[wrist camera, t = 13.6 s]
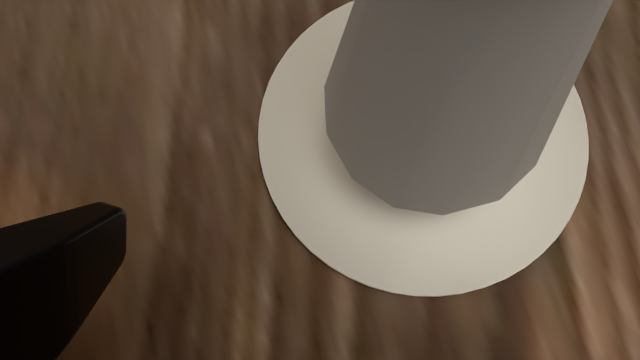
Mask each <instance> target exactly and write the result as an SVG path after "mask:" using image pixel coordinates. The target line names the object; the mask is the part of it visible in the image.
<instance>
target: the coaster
mask: <svg viewBox="0 0 640 360" xmlns="http://www.w3.org/2000/svg"><path fill="white" fill-rule="evenodd" d="M353 4H354V1H352V2H349V3H347V4H345V5H343V6H341V7H339V8H337V9H335V10H333V11H331V12H330V13H328V14H327V15H325V16H324V17H322V18H321V19H319V20H318V21H316V22H315V23H314V24H313V25H312V26H310V27H309V28H308V29H307V30H306V31H305V32H304V33H302V34H301V35H300V36H299V37H298V39H297V40H296V41H295V42H294V43H293V44H292V45H291V46H290V48H289V49H288V50H287V52H286V53H285V54H284V56H283V57H282V59H281V60H280V62H279V63H278V65H277V67H276V69H275V71H274V73H273V75H272V77H271V79H270V81H269V83H268V86H267V89H266V92H265V95H264V98H263V101H262V107H261V112H260V117H259V130H258V144H259V155H260V162H261V166H262V171H263V175H264V179H265V182H266V184H267V187H268V190H269V192H270V195H271V197H272V200H273V202H274V203H275V205H276V207H277V209H278V211H279V212H280V214H281V216H282V218H283V220H284V221H285V223H286V224H287V225H288V227H289V228H290V229H291V231H292V232H293V233H294V235H295V236H296V237H297V238H298V239H299V240H300V241H301V242H302V243H303V245H304V246H305V247H306V248H307V249H308V250H309V251H310V252H311V253H312V254H314V255H315V256H316V257H317V258H319V259H320V260H321V261H323V262H324V263H325V264H326V265H328V266H329V267H331V268H332V269H334V270H336V271H337V272H339V273H341V274H342V275H344V276H346V277H347V278H349V279H352V280H354V281H356V282H359V283H361V284H363V285H366V286H368V287H371V288H374V289H378V290H381V291H385V292H389V293H393V294H400V295H407V296H413V297H440V296H448V295H456V294H462V293H466V292H470V291H473V290H477V289H481V288H485V287H487V286H490V285H492V284H494V283H497V282H499V281H502V280H504V279H506V278H508V277H510V276H512V275H513V274H515V273H517V272H518V271H520V270H522V269H523V268H525V267H526V266H528V265H529V264H530V263H531V262H533V261H534V260H535V259H536V258H538V257H539V256H540V255H541V254H543V253H544V252H545V250H546V249H547V248H548V247H549V246H550V245H551V244H552V243H553V242H554V241H555V240H556V239H557V237H558V236H559V235H560V233H561V232H562V230H563V229H564V227H565V226H566V224H567V223H568V221H569V220H570V218H571V216H572V214H573V212H574V210H575V208H576V206H577V204H578V202H579V199H580V196H581V193H582V189H583V186H584V183H585V179H586V173H587V166H588V152H589V139H588V131H587V124H586V118H585V114H584V111H583V107H582V104H581V100H580V98H579V95H578V93H577V91H576V88H575V86H574V85H573V87H572V89H571V91H570V93H569V96H568V98H567V100H566V102H565V104H564V106H563V108H562V111H561V113H560V115H559V117H558V119H557V121H556V123H555V126H554V128H553V130H552V132H551V134H550V136H549V138H548V141H547V143H546V145H545V147H544V149H543V151H542V154H541V156H540V158H539V160H538V162H537V164H536V166H535V167H534V168H533V169H532V170H531V171H530V172H529V173H528V174H527V175H526V176H525V177H524V178H522V179H521V180H520V181H519V182H518V183H517V184H516V185H515V186H514V187H513V188H512V189H511V190H510V191H509V192H508V193H507V194H506V195H505V196H504V197H503V198H502V199H501V200H498V201H495V202H492V203H488V204H484V205H480V206H477V207H473V208H469V209H465V210H461V211H458V212H454V213H450V214H446V215H437V214H431V213H425V212H418V211H412V210H406V209H400V208H394V207H392V206H391V205H389V204H388V203H386V202H385V201H383V200H382V199H380V198H379V197H378V196H376V195H375V194H373V193H372V192H370V191H369V190H367V189H366V188H364V187H363V186H361V185H360V184H359V183H357V182H356V181H354V180H353V179H352V178H351V176H350V174H349V172H348V171H347V169H346V167H345V165H344V164H343V162H342V160H341V159H340V157H339V155H338V153H337V152H336V150H335V148H334V147H333V145H332V143H331V141H330V140H329V138H328V135H327V133H326V116H325V95H324V86H325V83H326V80H327V77H328V74H329V72H330V69H331V66H332V63H333V60H334V57H335V55H336V52H337V49H338V46H339V43H340V40H341V38H342V35H343V32H344V29H345V26H346V24H347V21H348V18H349V15H350V12H351V9H352V7H353Z"/></svg>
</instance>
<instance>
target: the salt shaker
mask: <svg viewBox="0 0 640 360" xmlns="http://www.w3.org/2000/svg"><path fill="white" fill-rule="evenodd" d="M612 2H613V0H355V1H354V4H353V7H352V9H351V12H350V15H349V18H348V21H347V24H346V26H345V29H344V32H343V35H342V38H341V40H340V43H339V46H338V49H337V52H336V55H335V57H334V60H333V63H332V66H331V69H330V72H329V74H328V77H327V80H326V83H325V86H324V95H325V116H326V133H327V135H328V138H329V140H330V141H331V143H332V145H333V147H334V148H335V150H336V152H337V153H338V155H339V157H340V159H341V160H342V162H343V164H344V165H345V167H346V169H347V171H348V172H349V174H350V176H351V178H352V179H353V180H354V181H356V182H357V183H359V184H360V185H361V186H363V187H364V188H366V189H367V190H369V191H370V192H372V193H373V194H375V195H376V196H378V197H379V198H380V199H382V200H383V201H385V202H386V203H388V204H389V205H391V206H392V207H394V208H400V209H406V210H412V211H418V212H425V213H431V214H437V215H446V214H450V213H454V212H458V211H461V210H465V209H469V208H473V207H477V206H480V205H484V204H488V203H492V202H495V201H498V200H501V199H502V198H503V197H504V196H505V195H506V194H507V193H508V192H509V191H510V190H511V189H512V188H513V187H514V186H515V185H516V184H517V183H518V182H519V181H520V180H521V179H522V178H524V177H525V176H526V175H527V174H528V173H529V172H530V171H531V170H532V169H533V168H534V167H535V166H536V164H537V162H538V160H539V158H540V156H541V154H542V151H543V149H544V147H545V145H546V143H547V141H548V138H549V136H550V134H551V132H552V130H553V128H554V126H555V123H556V121H557V119H558V117H559V115H560V113H561V111H562V108H563V106H564V104H565V102H566V100H567V98H568V96H569V93H570V91H571V89H572V87H573V85H574V83H575V81H576V78H577V76H578V74H579V72H580V70H581V68H582V65H583V63H584V61H585V59H586V57H587V55H588V53H589V50H590V48H591V46H592V44H593V42H594V40H595V38H596V35H597V33H598V31H599V29H600V27H601V25H602V23H603V20H604V18H605V16H606V14H607V12H608V10H609V8H610V6H611V4H612Z"/></svg>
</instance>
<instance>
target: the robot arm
mask: <svg viewBox="0 0 640 360" xmlns="http://www.w3.org/2000/svg"><path fill="white" fill-rule="evenodd" d="M125 254H126V213H125V211H124V210H123V209H122V208H120V207H116V206H113V205H110V204H107V203H103V202H97V203H93V204H90V205H86V206H82V207H78V208H75V209H71V210H67V211H63V212H59V213H56V214H52V215H48V216H44V217H41V218H37V219H33V220H29V221H26V222H22V223H18V224H14V225H11V226H7V227H3V228H0V360H56V359H57V357H58V356H59V355H60V354H61V352H62V351H63V350H64V349H65V347H66V346H67V345H68V343H69V342H70V341H71V339H72V338H73V337H74V335H75V334H76V332H77V331H78V329H79V328H80V326H81V325H82V323H83V322H84V320H85V319H86V317H87V316H88V314H89V313H90V311H91V310H92V308H93V307H94V305H95V304H96V302H97V301H98V299H99V298H100V296H101V295H102V293H103V292H104V290H105V289H106V287H107V285H108V284H109V282H110V281H111V279H112V278H113V276H114V275H115V273H116V272H117V270H118V269H119V267H120V266H121V264H122V262H123V260H124V257H125Z"/></svg>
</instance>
